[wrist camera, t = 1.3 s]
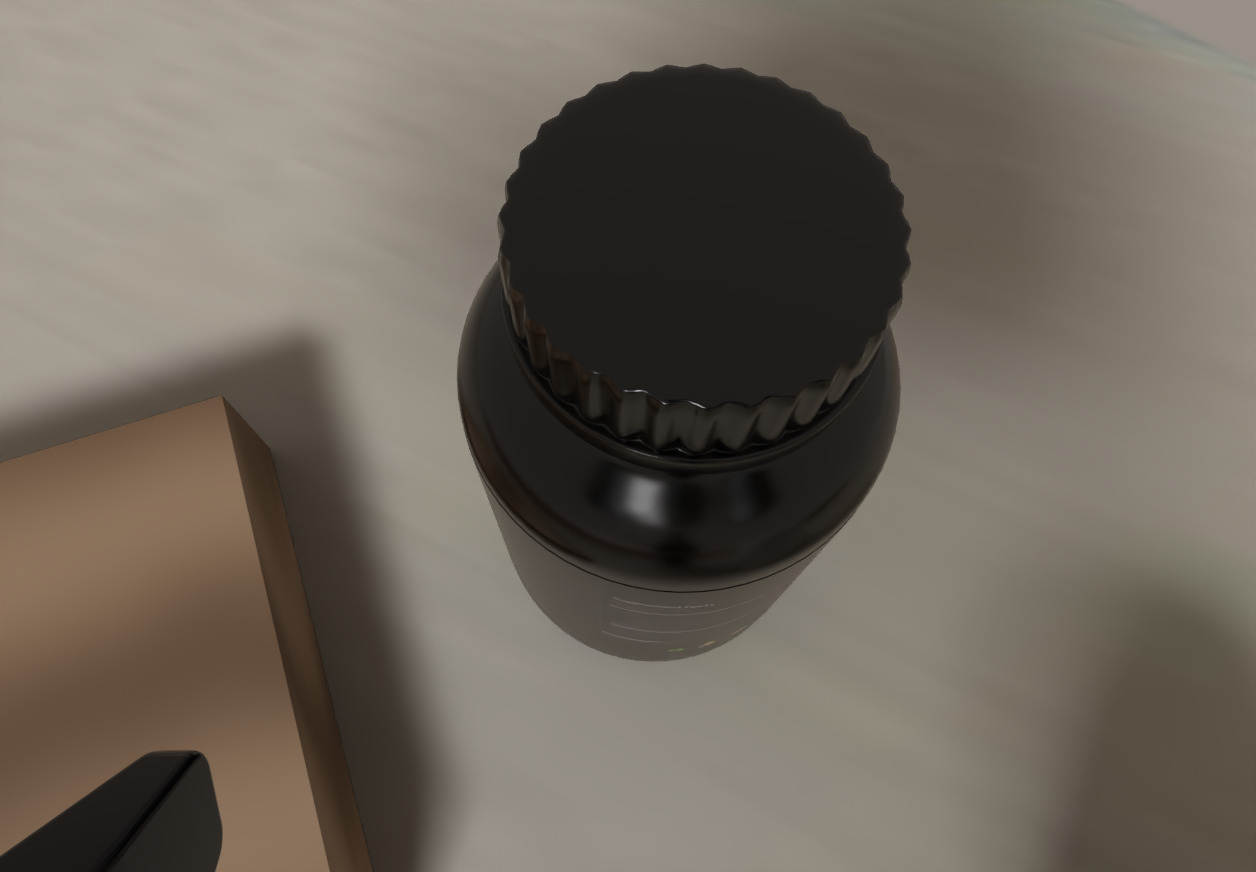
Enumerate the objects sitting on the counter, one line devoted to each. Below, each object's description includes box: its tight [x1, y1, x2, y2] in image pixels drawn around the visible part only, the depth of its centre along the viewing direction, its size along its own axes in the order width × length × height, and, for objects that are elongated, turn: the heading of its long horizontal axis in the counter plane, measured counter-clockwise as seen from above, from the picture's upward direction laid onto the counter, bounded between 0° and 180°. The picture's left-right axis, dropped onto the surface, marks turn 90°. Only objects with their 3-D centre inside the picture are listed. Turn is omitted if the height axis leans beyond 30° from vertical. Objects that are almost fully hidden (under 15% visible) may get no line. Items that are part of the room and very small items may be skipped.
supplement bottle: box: [457, 64, 911, 661], centre depth 16 cm, size 7×7×12 cm
